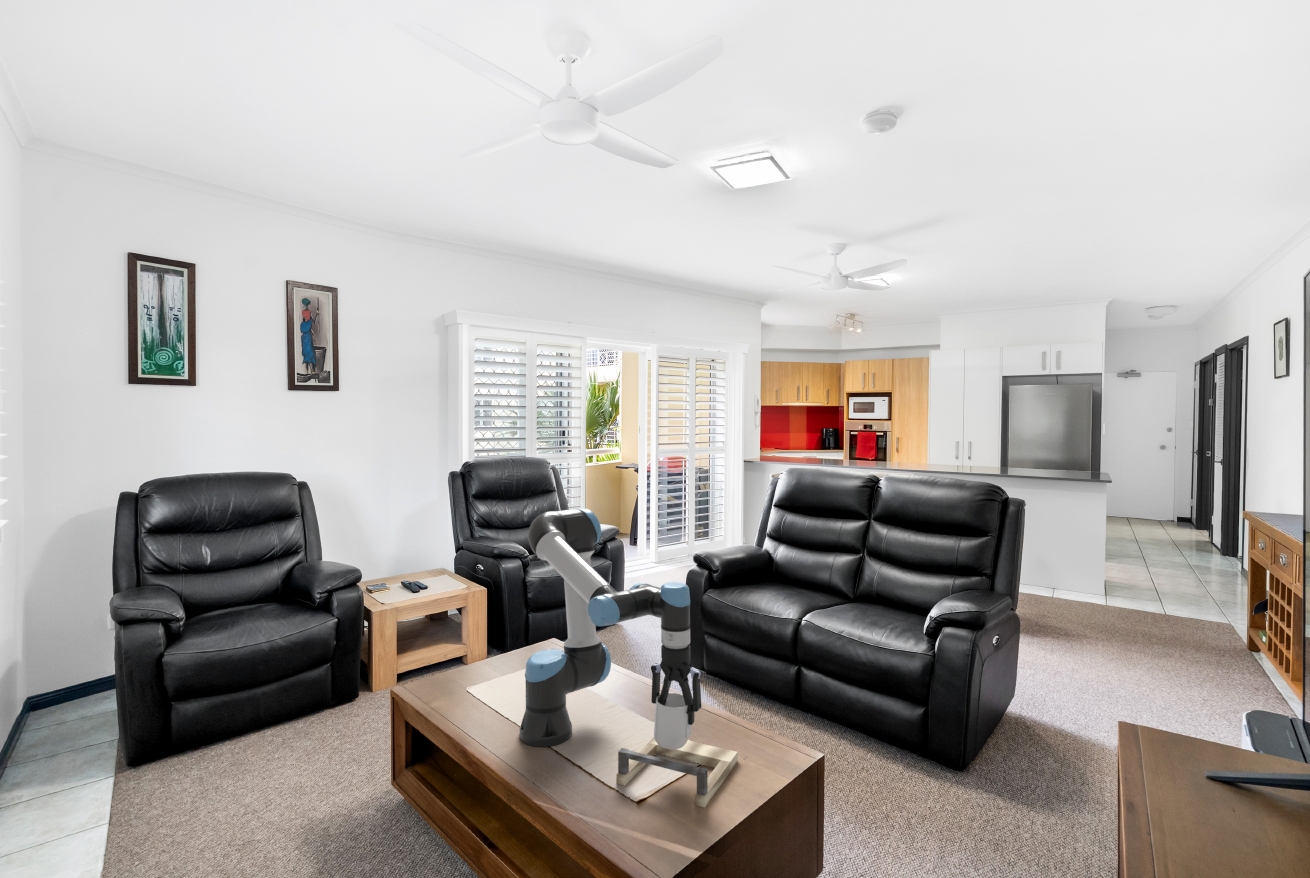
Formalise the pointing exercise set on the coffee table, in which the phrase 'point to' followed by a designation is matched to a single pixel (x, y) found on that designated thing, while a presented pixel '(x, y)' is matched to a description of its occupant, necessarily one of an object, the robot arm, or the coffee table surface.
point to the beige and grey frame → (681, 765)
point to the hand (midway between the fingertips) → (676, 733)
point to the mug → (671, 722)
